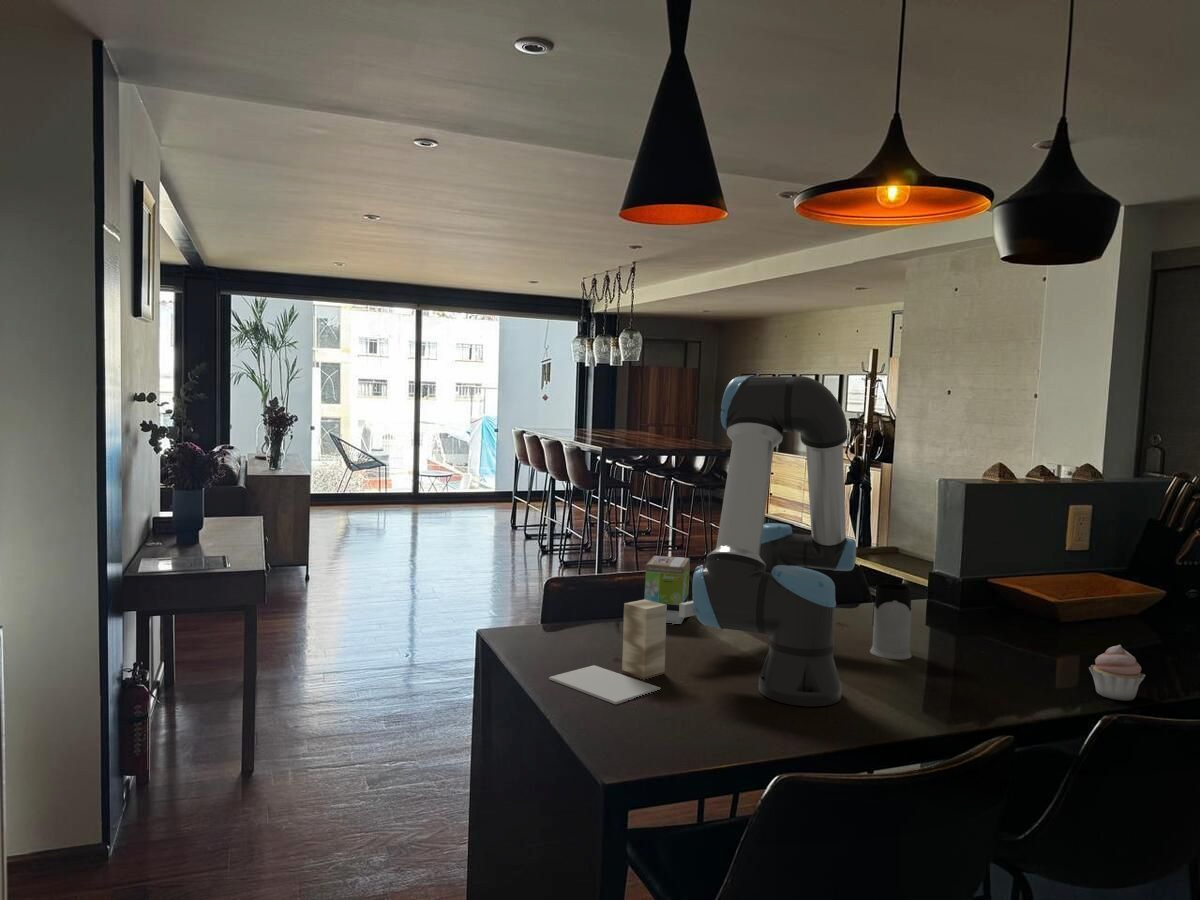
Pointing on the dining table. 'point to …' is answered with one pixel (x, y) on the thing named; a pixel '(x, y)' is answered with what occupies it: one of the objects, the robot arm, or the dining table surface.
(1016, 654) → the dining table surface
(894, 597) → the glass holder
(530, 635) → the dining table surface
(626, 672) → the beech block
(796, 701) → the robot arm
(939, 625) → the dining table surface
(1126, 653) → the cupcake
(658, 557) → the tea box
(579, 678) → the mat
